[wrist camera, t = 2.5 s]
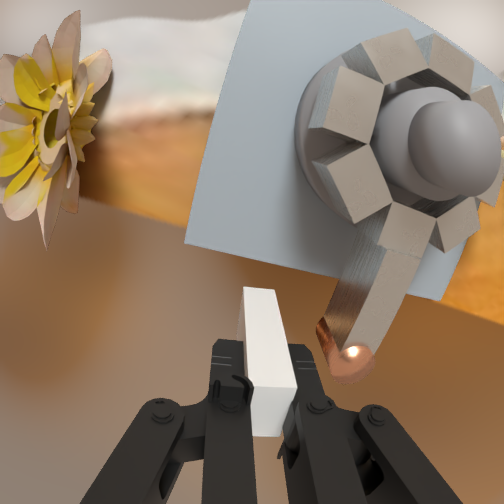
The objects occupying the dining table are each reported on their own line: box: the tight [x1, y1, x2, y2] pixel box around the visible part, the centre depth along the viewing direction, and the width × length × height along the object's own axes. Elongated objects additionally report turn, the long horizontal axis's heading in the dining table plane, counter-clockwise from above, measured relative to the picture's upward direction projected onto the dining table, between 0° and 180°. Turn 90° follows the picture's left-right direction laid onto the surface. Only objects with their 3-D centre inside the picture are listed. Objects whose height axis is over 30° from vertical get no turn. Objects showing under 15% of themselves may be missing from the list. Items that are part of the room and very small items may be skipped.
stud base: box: [184, 0, 504, 301], centre depth 15 cm, size 22×23×11 cm
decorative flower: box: [0, 10, 112, 250], centre depth 14 cm, size 15×11×10 cm
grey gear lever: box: [308, 28, 504, 384], centre depth 16 cm, size 21×12×4 cm, turn 165°
